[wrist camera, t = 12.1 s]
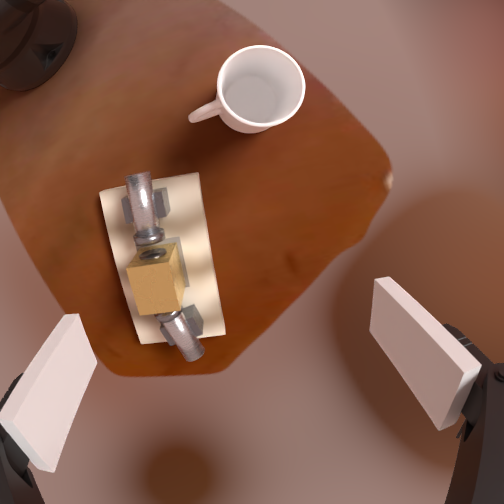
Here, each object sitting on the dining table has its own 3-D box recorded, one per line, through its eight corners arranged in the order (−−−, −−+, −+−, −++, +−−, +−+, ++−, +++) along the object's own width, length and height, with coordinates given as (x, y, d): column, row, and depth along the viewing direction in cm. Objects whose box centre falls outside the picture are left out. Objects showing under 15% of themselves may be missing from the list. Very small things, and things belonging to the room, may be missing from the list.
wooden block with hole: (139, 246, 40) (125, 267, 33) (176, 241, 40) (168, 260, 33) (150, 290, 42) (140, 316, 35) (186, 285, 42) (180, 311, 36)
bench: (104, 190, 39) (98, 192, 37) (198, 172, 40) (197, 173, 37) (143, 336, 47) (140, 344, 45) (225, 327, 47) (225, 335, 45)
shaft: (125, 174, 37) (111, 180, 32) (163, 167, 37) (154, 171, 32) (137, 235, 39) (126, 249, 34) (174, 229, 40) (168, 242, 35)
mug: (202, 149, 39) (195, 152, 27) (182, 88, 36) (168, 67, 24) (291, 123, 39) (318, 117, 27) (272, 63, 36) (292, 35, 24)
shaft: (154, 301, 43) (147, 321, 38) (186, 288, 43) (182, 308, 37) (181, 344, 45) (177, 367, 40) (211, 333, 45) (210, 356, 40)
